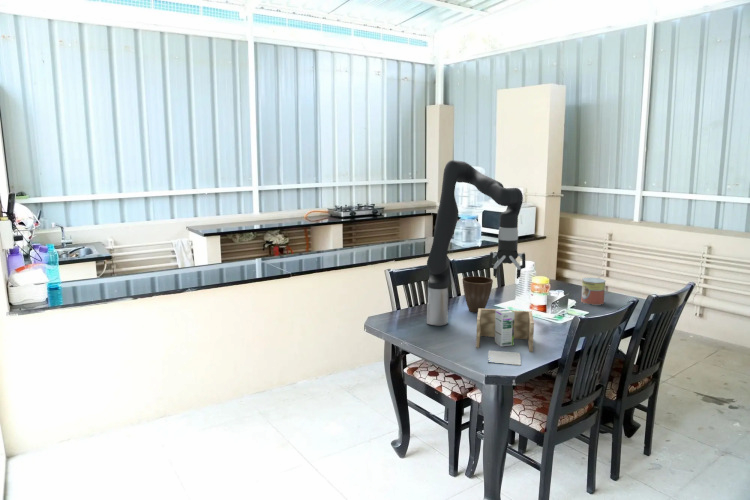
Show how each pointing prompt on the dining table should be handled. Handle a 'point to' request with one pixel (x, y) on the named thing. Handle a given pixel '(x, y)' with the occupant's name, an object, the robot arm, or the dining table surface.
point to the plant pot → (477, 292)
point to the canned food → (593, 291)
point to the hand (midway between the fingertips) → (506, 277)
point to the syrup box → (504, 327)
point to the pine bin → (521, 325)
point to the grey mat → (505, 357)
